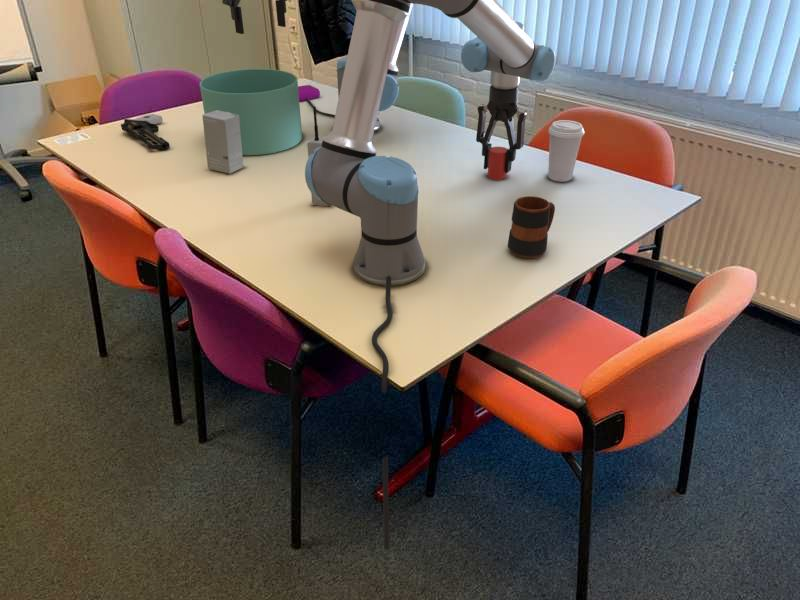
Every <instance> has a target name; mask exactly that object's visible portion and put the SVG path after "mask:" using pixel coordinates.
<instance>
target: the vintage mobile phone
mask: <svg viewBox="0 0 800 600" xmlns="http://www.w3.org/2000/svg"><path fill="white" fill-rule="evenodd" d="M316 109H317V107H316V106H315V105H314V107H312V111H313V122H314V123H313V124H314V125H313V130H314V137H313V136H312V138H311V139H309V140H308V142H307V157H308V158H309V156H310V155H311V154H313V151H314V150H315V149H317V148H318V147H321V146H322V141H323V138H324V137H319V126H318V119H317V112H316ZM308 158H307V159H308ZM310 193H311V192H310ZM310 195H311V205H313V206H325V207H331V205H328V204H326V203H324V202H323V201H321V200H320V199H318V198H316V197H315V196H314V195H313V194H312V193H311V194H310Z"/></svg>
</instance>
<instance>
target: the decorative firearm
mask: <svg viewBox="0 0 800 600" xmlns="http://www.w3.org/2000/svg"><path fill="white" fill-rule="evenodd" d="M163 120H164V119H163V117H162V116H161V115H159V114H154V113H150V114H146V115H145V114H144V115H142V116H139V117H136V118H123V123H120V127H121V130H122V131H124V132H126V133H128V134H129V135H131V136H133V137H135V138H137V139H138V140H140V141H141V142H142V143H143V144H145V145H146V147H147V148H149V149H152V150H169V149H170V148H171V147H170V142H169V141H167V140H165V139H164V138H163V137H160V136H158V135H156V134H157V133H158V132H159V125H158V124H163Z"/></svg>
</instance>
